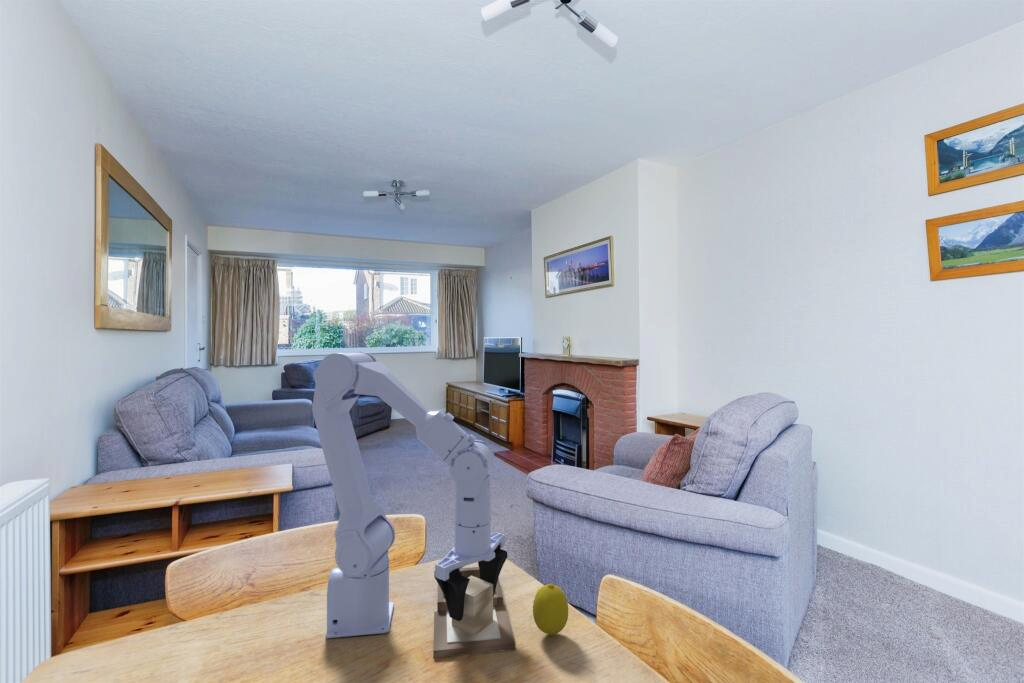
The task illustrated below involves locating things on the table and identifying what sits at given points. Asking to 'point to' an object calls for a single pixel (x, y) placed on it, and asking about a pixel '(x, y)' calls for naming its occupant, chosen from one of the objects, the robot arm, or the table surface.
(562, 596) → the lemon
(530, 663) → the table surface
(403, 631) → the table surface
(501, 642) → the brown divided tray
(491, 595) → the block
